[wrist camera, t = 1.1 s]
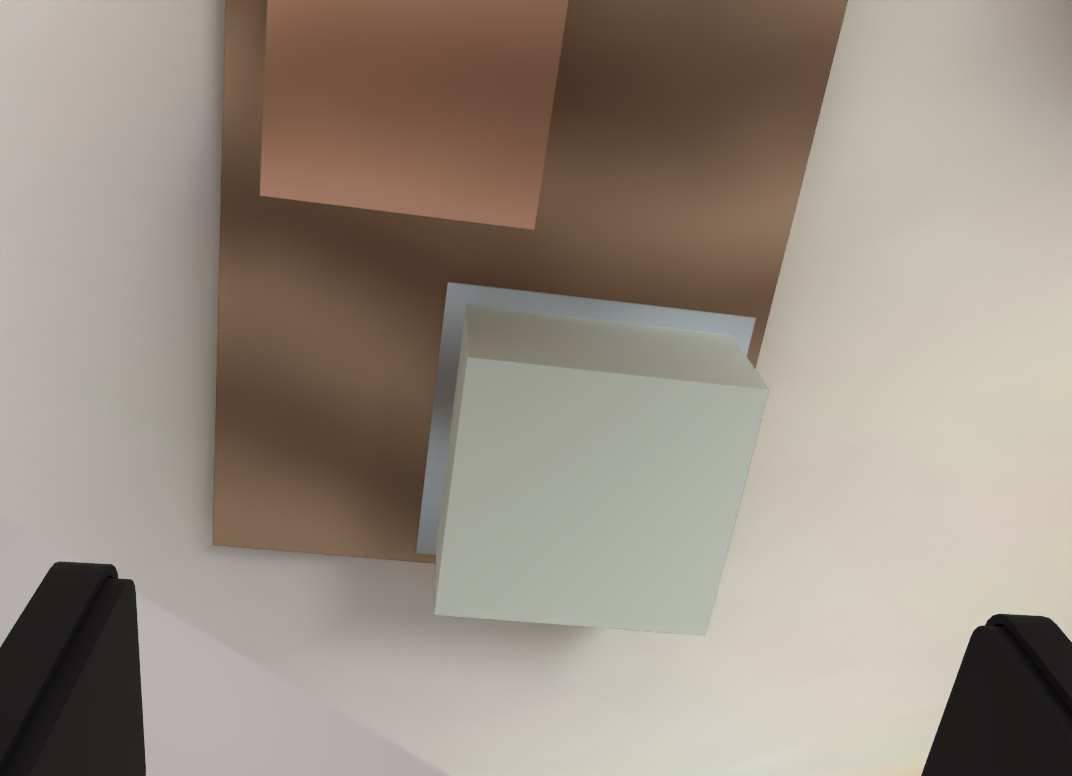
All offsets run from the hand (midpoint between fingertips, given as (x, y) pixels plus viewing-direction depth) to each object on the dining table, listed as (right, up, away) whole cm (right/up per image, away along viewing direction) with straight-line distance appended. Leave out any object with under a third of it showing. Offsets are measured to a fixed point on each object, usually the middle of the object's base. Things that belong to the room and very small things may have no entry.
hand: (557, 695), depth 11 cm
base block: (+1, +2, +20) cm, 20 cm away
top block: (-3, +12, +15) cm, 20 cm away
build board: (-1, +7, +19) cm, 21 cm away
